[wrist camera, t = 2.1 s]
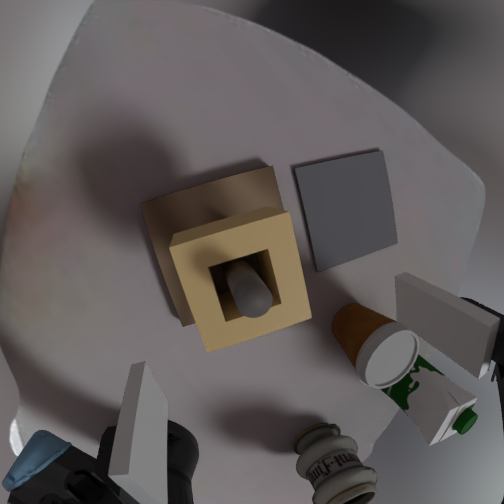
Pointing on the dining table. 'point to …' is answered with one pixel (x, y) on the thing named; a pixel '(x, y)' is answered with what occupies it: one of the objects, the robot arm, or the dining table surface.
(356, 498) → the apothecary jar
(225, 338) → the collar
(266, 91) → the dining table surface
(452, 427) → the milk carton
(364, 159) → the mat
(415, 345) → the disposable coffee cup
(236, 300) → the stand
